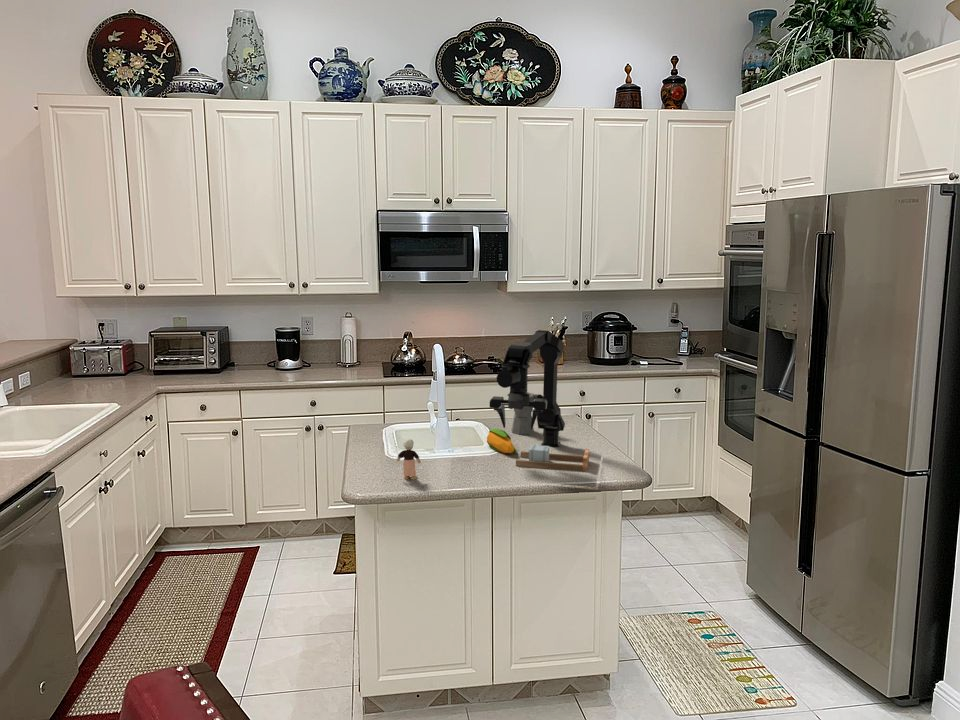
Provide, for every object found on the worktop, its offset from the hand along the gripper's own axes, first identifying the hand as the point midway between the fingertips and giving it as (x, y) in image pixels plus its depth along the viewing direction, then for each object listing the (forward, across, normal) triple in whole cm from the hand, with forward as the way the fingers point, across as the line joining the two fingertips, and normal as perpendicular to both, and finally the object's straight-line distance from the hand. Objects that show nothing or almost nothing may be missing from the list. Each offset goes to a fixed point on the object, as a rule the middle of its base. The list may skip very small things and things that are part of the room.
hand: (518, 428), depth 239 cm
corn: (+13, -7, +13) cm, 19 cm away
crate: (+11, +7, 0) cm, 14 cm away
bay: (+12, +11, 0) cm, 17 cm away
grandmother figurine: (+12, -32, -23) cm, 41 cm away
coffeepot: (+13, -2, +42) cm, 44 cm away
